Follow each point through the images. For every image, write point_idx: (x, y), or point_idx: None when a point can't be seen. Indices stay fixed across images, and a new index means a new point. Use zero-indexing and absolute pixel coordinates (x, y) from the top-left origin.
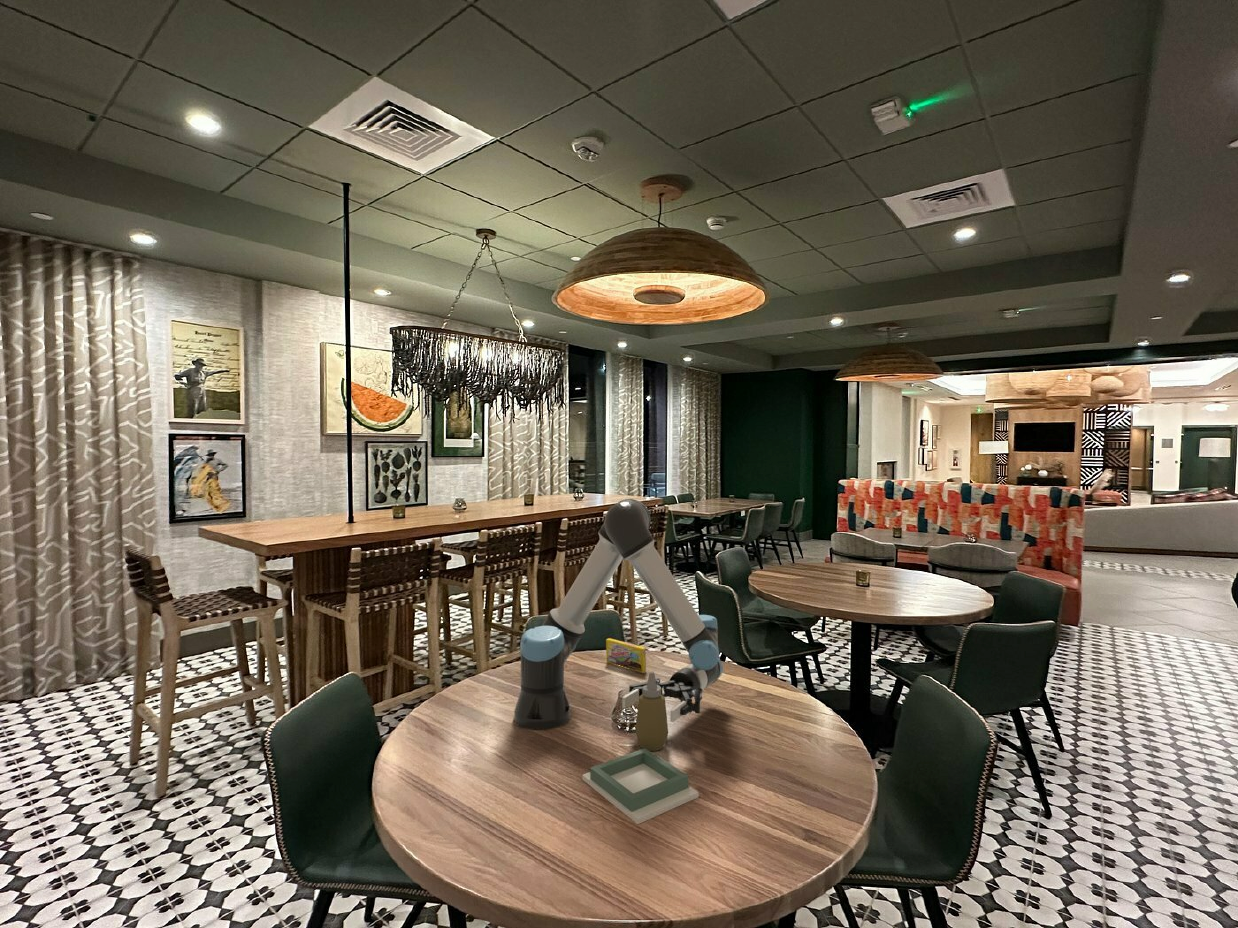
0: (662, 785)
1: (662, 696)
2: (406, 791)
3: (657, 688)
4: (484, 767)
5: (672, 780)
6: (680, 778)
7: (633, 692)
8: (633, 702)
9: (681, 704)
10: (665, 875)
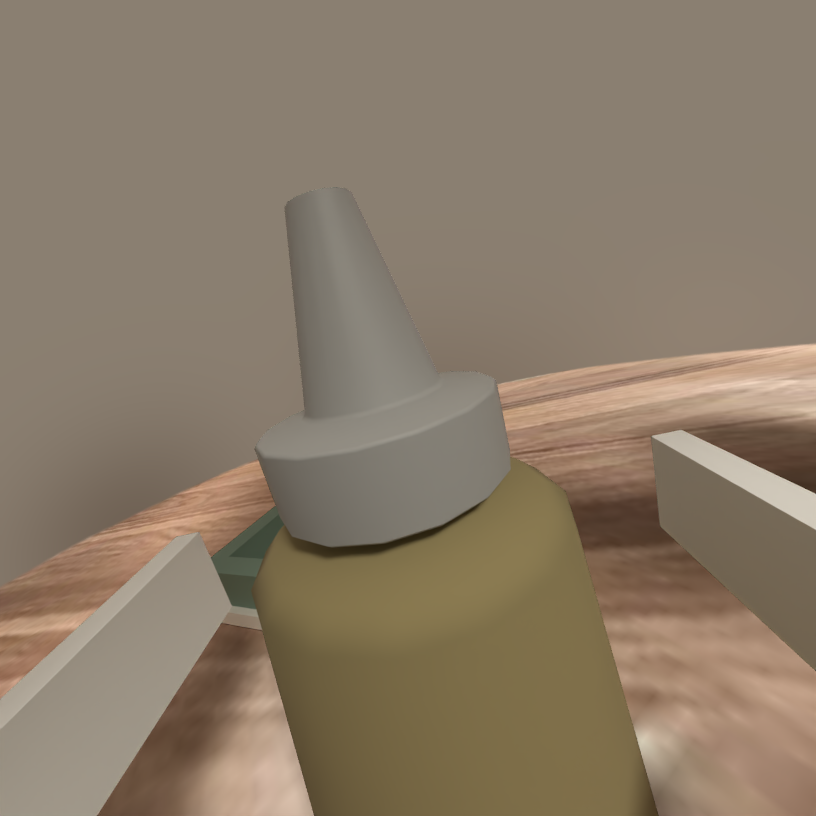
0: (272, 511)
1: (281, 572)
2: (673, 365)
3: (299, 420)
4: (710, 405)
5: (247, 533)
6: (223, 550)
7: (810, 523)
8: (791, 639)
9: (36, 673)
10: (256, 478)
